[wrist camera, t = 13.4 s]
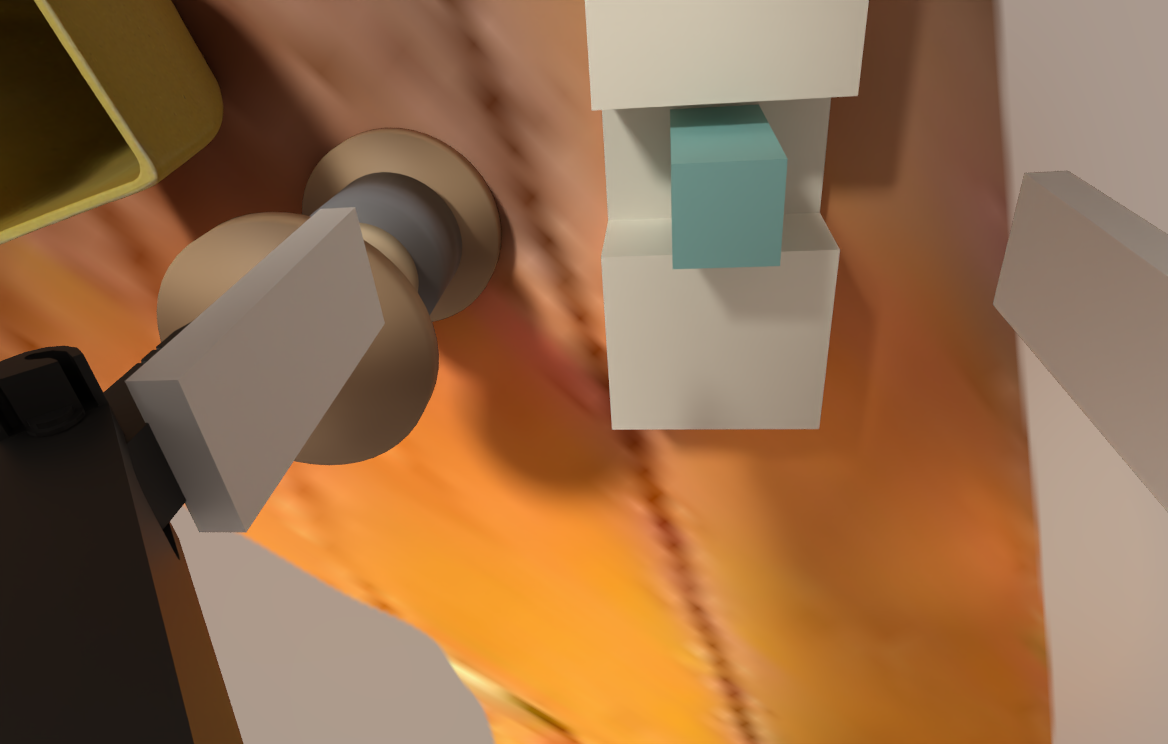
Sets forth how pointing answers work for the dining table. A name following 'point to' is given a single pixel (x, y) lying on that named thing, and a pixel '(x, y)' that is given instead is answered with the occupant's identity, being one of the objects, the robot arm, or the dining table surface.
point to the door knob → (399, 267)
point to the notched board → (643, 208)
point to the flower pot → (95, 105)
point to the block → (726, 188)
